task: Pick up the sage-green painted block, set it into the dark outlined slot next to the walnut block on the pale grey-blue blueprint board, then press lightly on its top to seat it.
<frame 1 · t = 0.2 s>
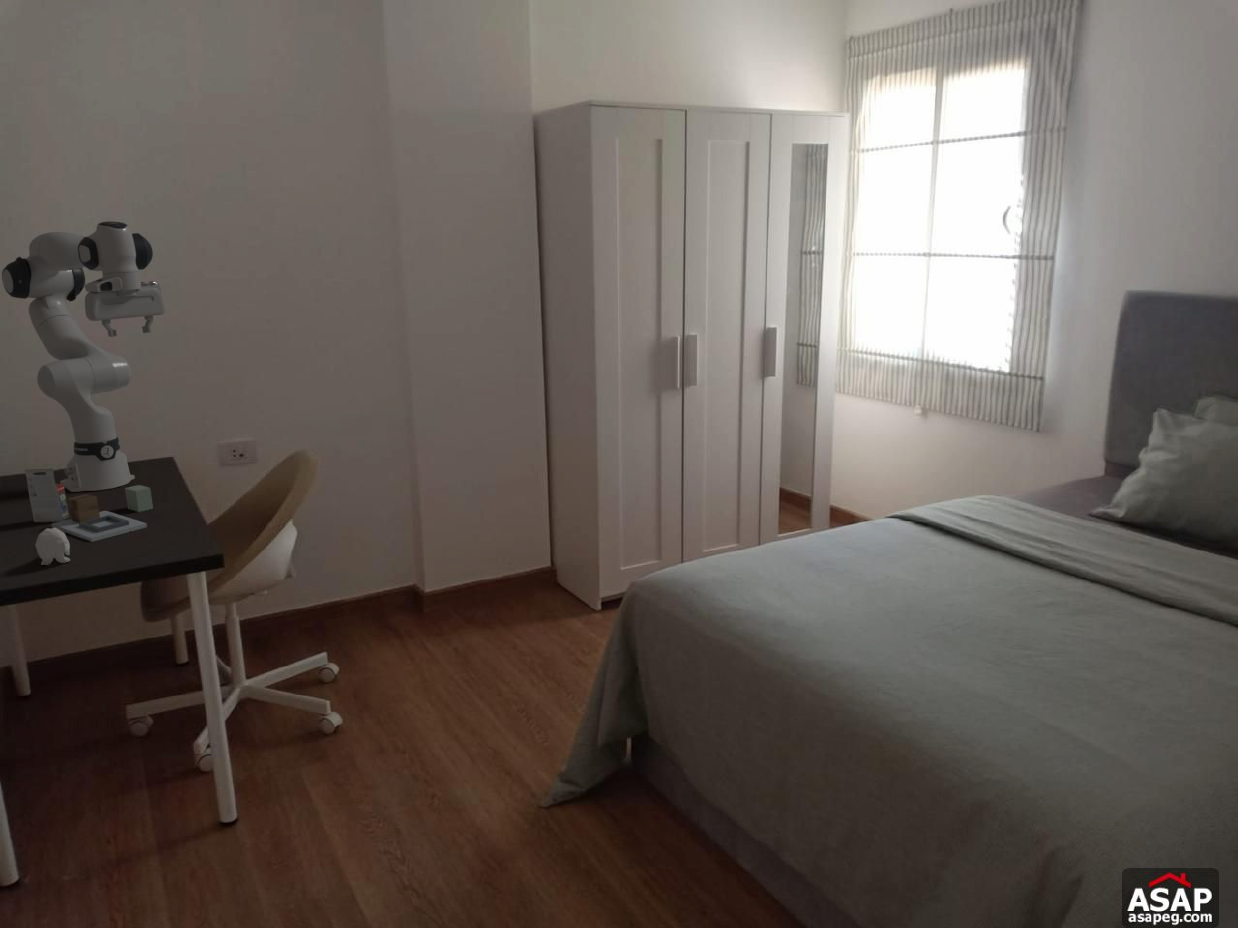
hand: (130, 334, 264), 47 cm above the table, tool pointing down, fingers open, 8 cm apart
white animal figurine: (58, 560, 227), on the table
sage block: (140, 508, 267), on the table
blueprint board: (99, 527, 251), on the table
ink box: (52, 521, 259), on the table
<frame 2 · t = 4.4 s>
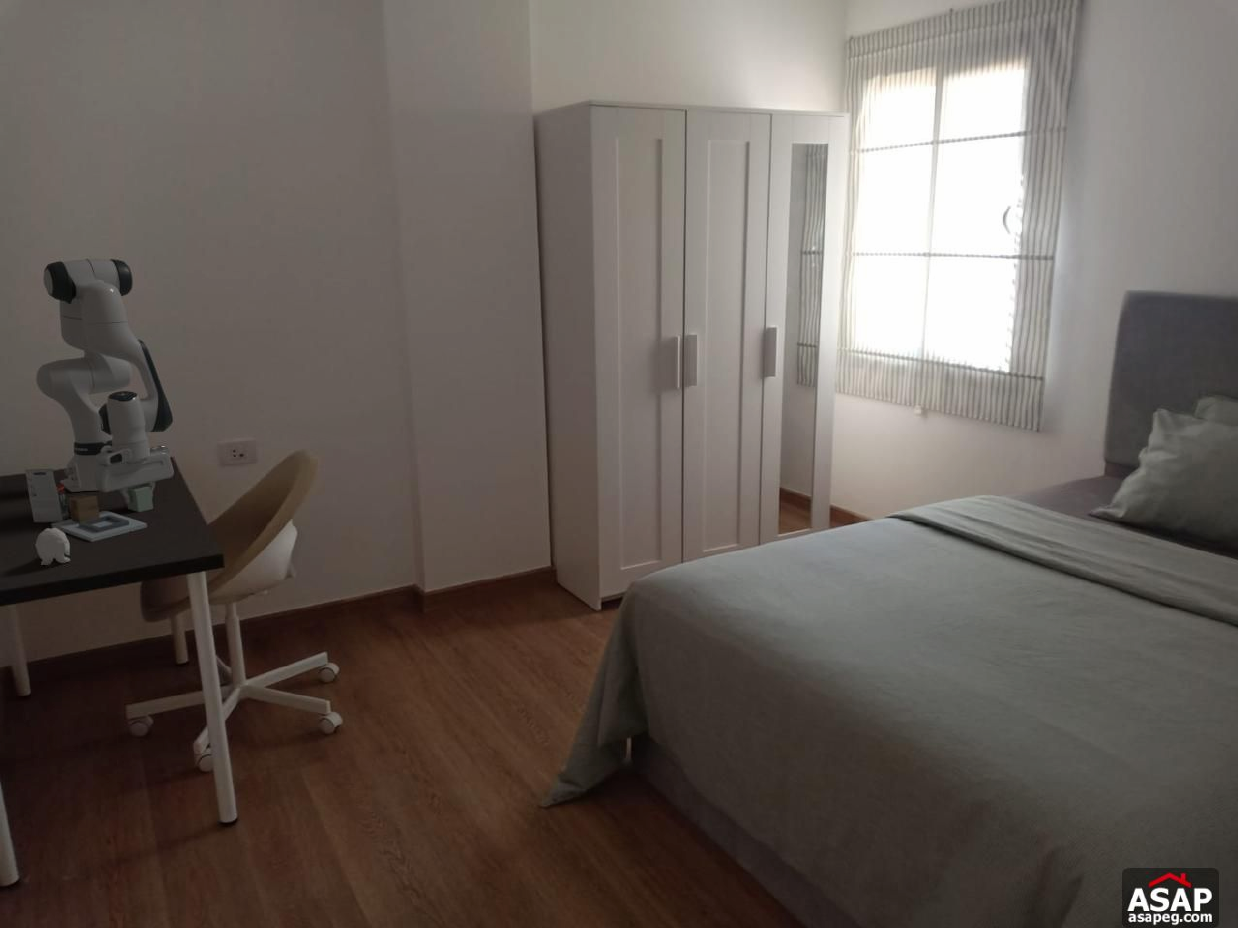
hand: (139, 500, 267), 2 cm above the table, tool pointing down, fingers closed on sage block, 4 cm apart
sage block: (140, 508, 267), on the table, touching gripper
everything else where it was.
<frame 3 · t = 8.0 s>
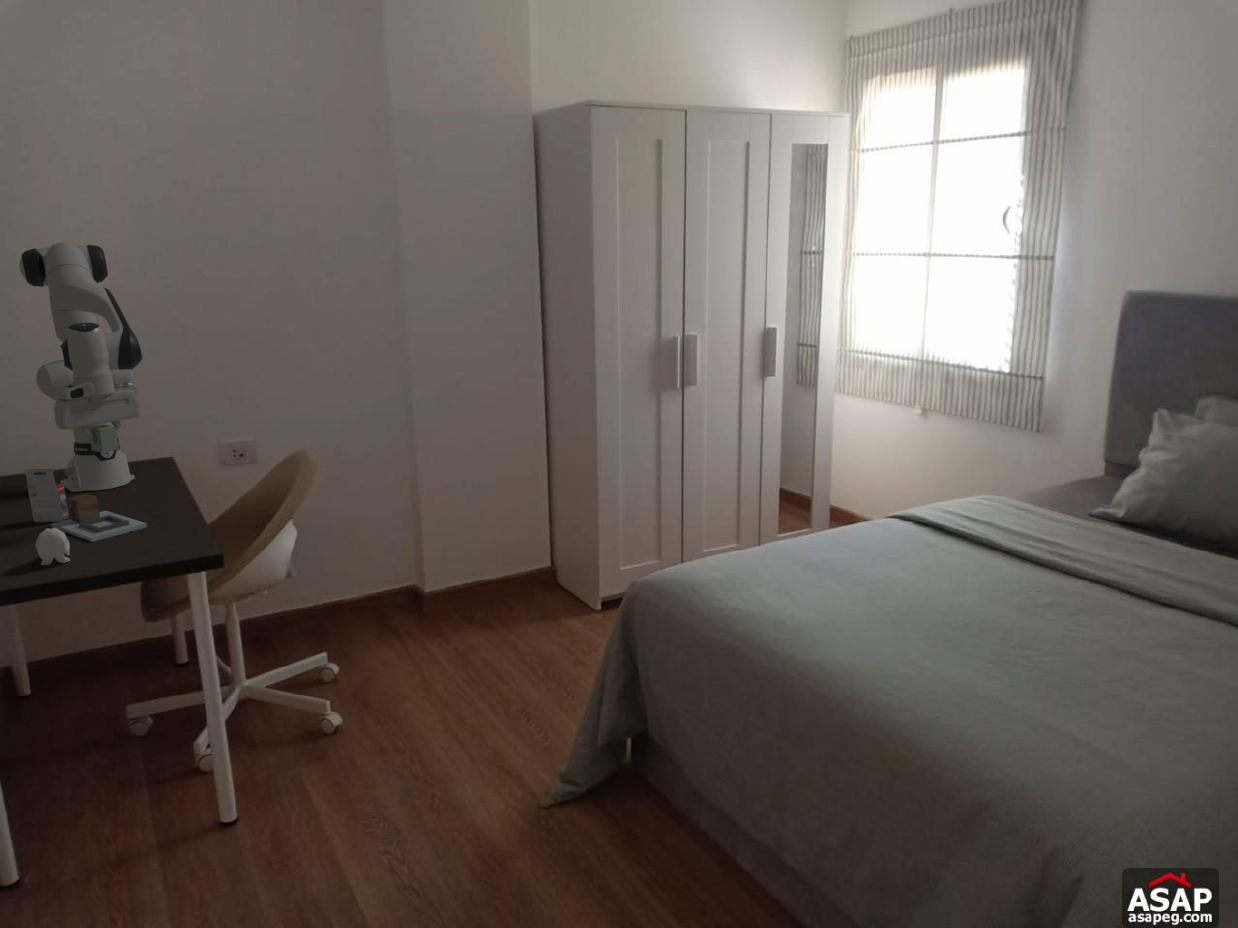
hand: (103, 440, 249), 22 cm above the table, tool pointing down, fingers closed on sage block, 4 cm apart
sage block: (105, 449, 250), point 20 cm above the table, touching gripper
everything else where it was.
when the fingers open (5 cm above the table, at t = 11.9 s): sage block drops 1 cm, resting on blueprint board.
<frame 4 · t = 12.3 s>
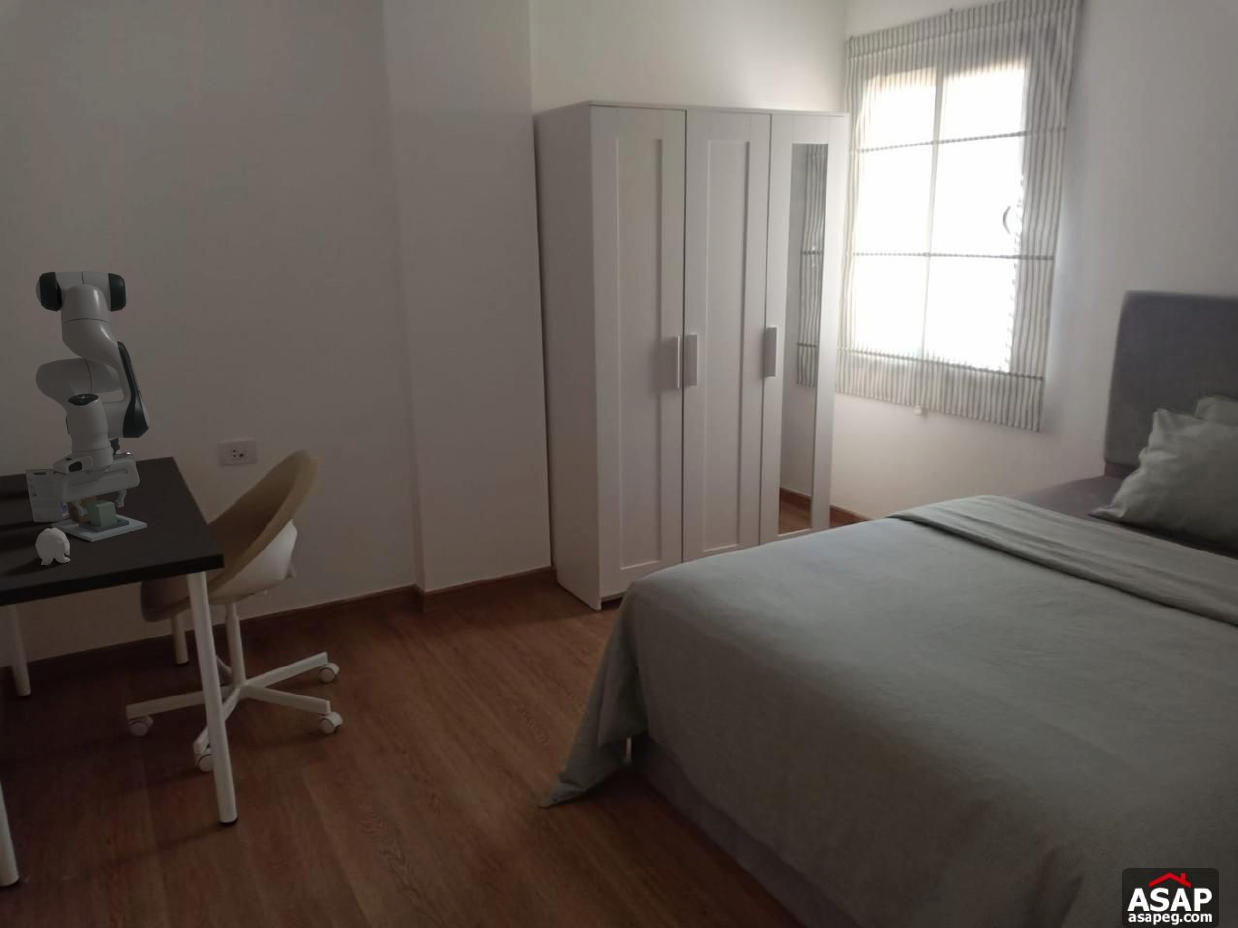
hand: (101, 511, 248), 5 cm above the table, tool pointing down, fingers open, 8 cm apart
sage block: (104, 525, 249), point 1 cm above the table, touching blueprint board
everything else where it was.
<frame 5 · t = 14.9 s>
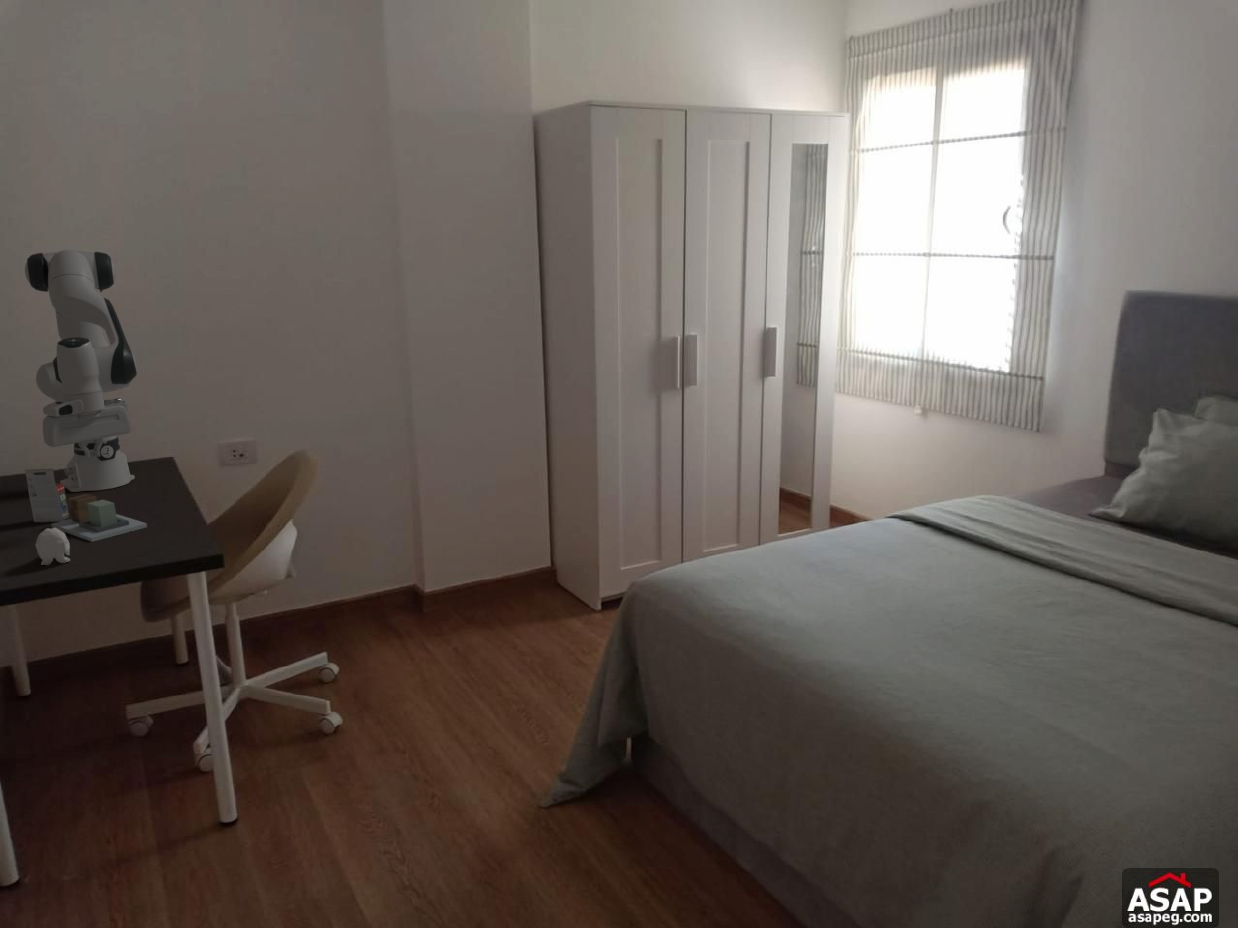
hand: (93, 457, 245), 19 cm above the table, tool pointing down, fingers closed
nothing on the table moved.
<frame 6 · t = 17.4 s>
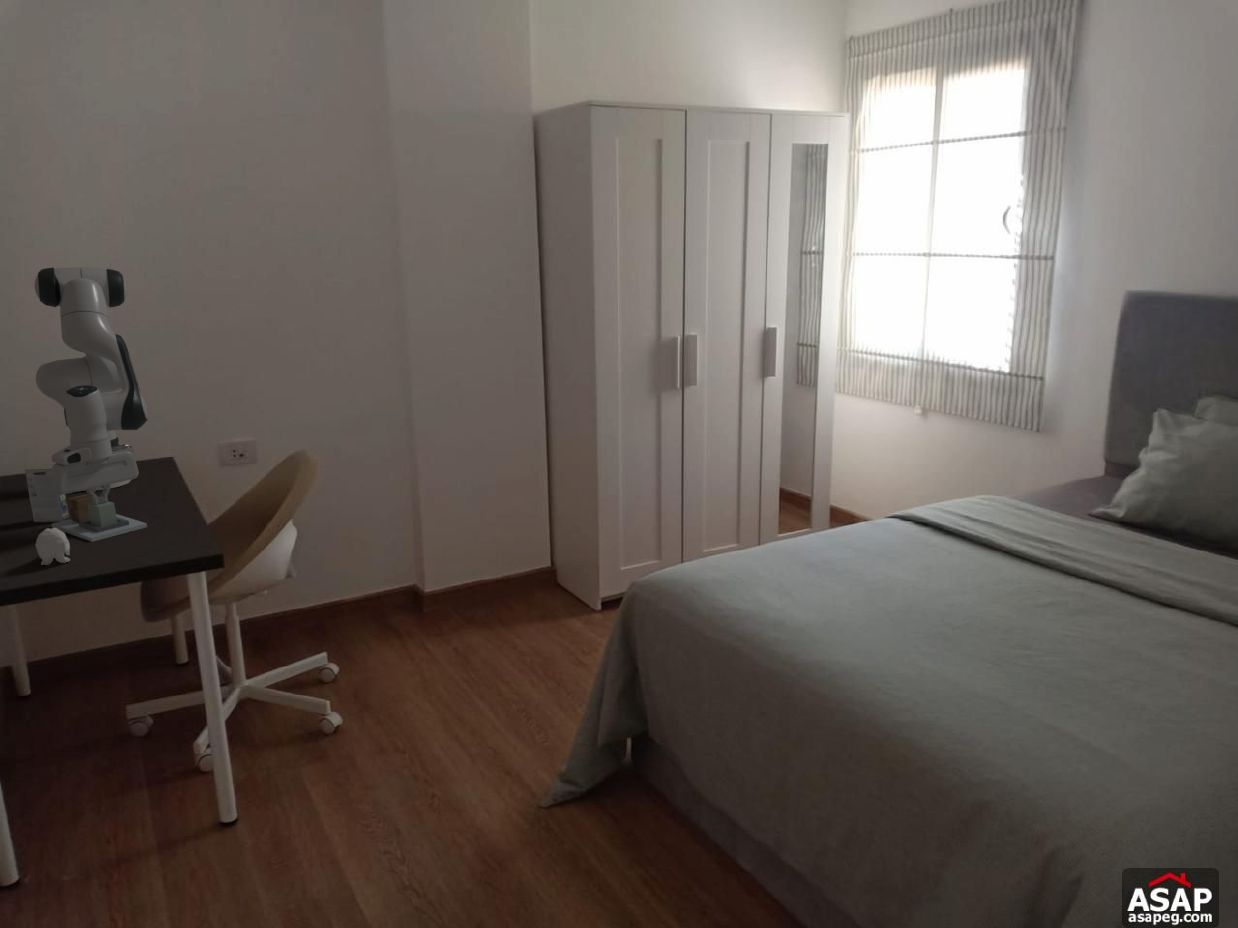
hand: (100, 503, 248), 7 cm above the table, tool pointing down, fingers closed, pressing on sage block
sage block: (104, 525, 249), point 1 cm above the table, touching blueprint board, gripper
everything else where it was.
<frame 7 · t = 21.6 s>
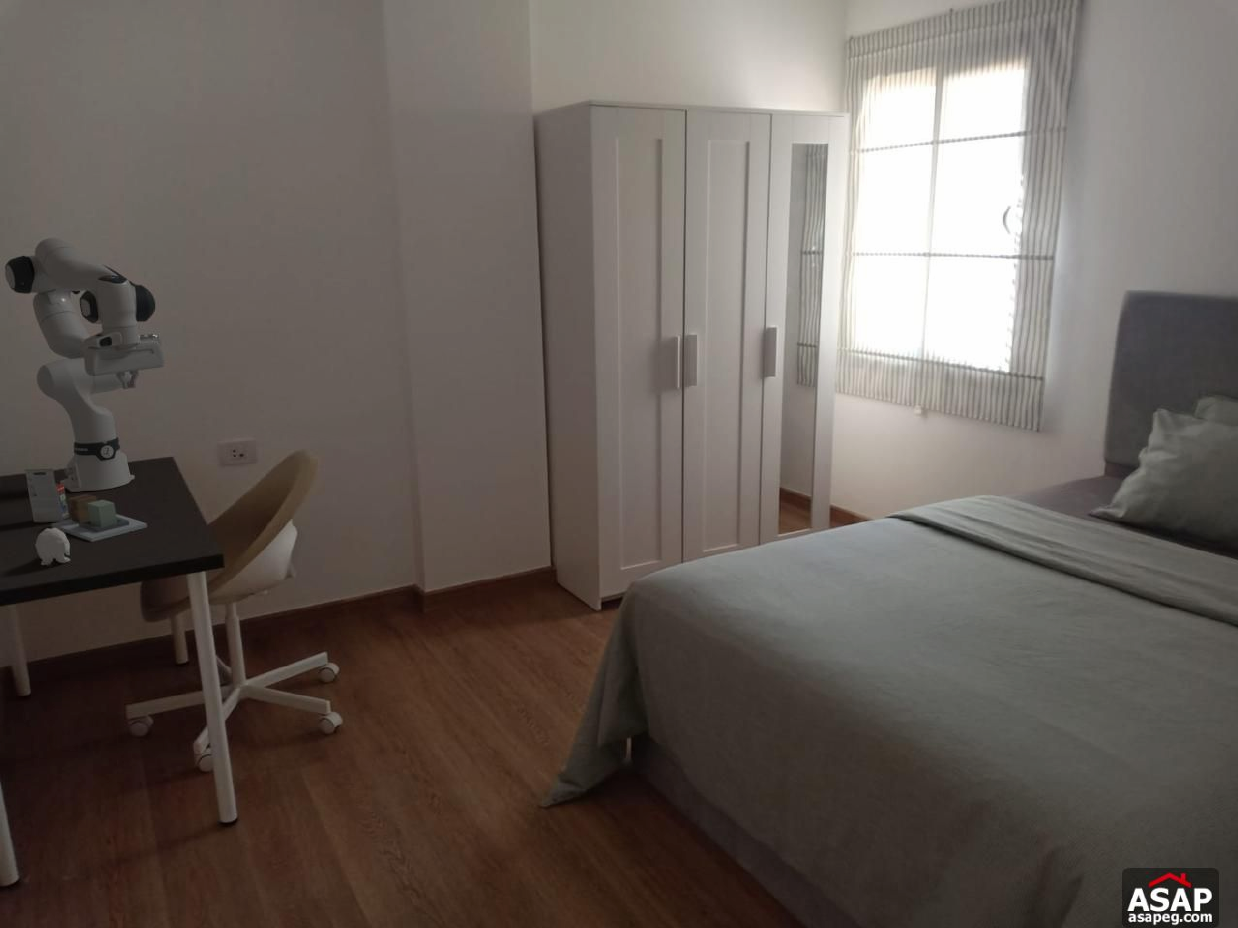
hand: (129, 388, 263), 33 cm above the table, tool pointing down, fingers closed
sage block: (104, 525, 249), point 1 cm above the table, touching blueprint board
everything else where it was.
at the end: sage block 0.0 cm from the target spot on the blueprint board, point 1.0 cm above the blueprint board's base; sage block tilted 0°; the gripper is holding nothing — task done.
